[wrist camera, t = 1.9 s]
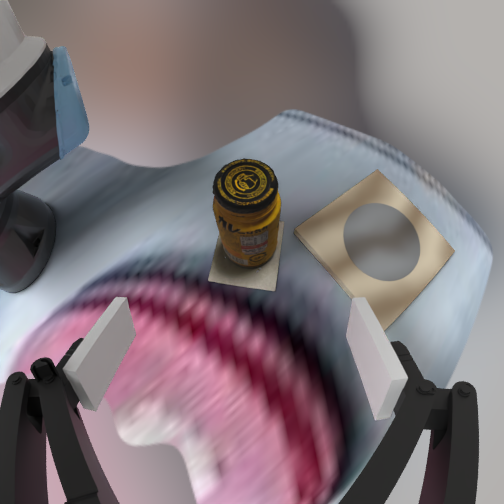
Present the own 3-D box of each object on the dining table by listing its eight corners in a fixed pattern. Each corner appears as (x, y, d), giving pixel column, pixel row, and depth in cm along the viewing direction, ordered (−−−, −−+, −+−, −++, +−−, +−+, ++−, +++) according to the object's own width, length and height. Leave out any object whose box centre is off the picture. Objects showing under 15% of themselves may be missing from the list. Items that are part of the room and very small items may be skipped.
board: (293, 233, 35) (294, 228, 33) (374, 174, 38) (377, 168, 37) (379, 333, 30) (384, 331, 28) (450, 254, 33) (455, 250, 32)
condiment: (284, 222, 35) (292, 154, 24) (274, 291, 32) (281, 245, 21) (223, 214, 36) (208, 146, 25) (208, 281, 33) (181, 232, 22)
